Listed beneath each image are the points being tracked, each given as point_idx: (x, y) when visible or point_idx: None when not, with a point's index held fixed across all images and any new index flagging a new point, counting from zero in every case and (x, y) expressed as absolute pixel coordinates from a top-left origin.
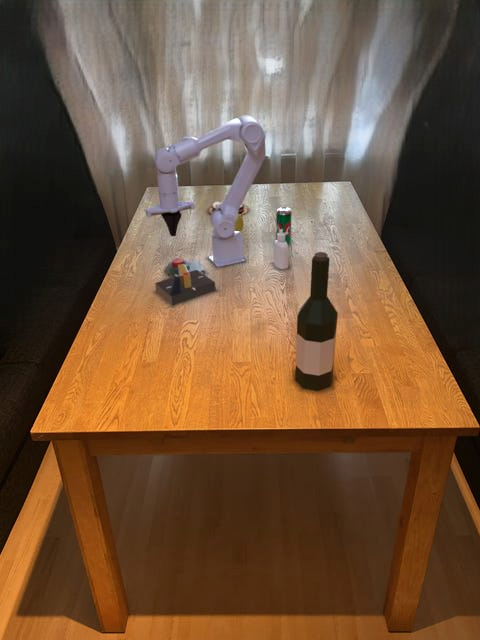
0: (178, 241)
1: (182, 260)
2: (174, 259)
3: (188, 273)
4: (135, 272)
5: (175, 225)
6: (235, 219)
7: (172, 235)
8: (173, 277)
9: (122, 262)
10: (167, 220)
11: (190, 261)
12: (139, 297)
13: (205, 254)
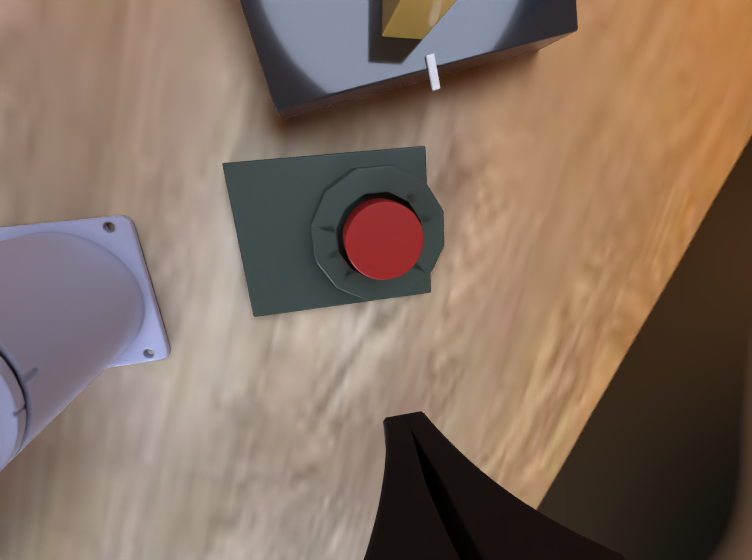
0: (295, 553)
1: (356, 228)
2: (401, 263)
3: None
4: (555, 310)
5: (411, 494)
6: None
7: (420, 415)
8: (456, 55)
9: (570, 417)
10: (581, 545)
11: (286, 310)
12: (629, 28)
13: (183, 399)
